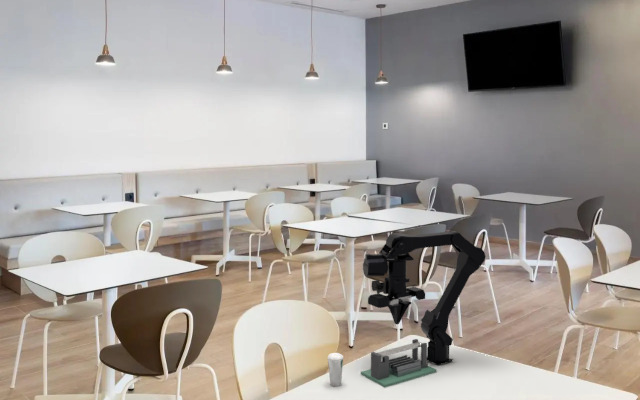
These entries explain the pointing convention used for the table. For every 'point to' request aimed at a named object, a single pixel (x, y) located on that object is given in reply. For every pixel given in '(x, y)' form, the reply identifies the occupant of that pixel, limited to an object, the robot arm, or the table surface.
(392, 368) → the heatsink
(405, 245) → the robot arm
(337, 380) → the milkshake
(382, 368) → the lug block
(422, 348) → the bracket
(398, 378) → the board
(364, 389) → the table surface
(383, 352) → the metal bar
